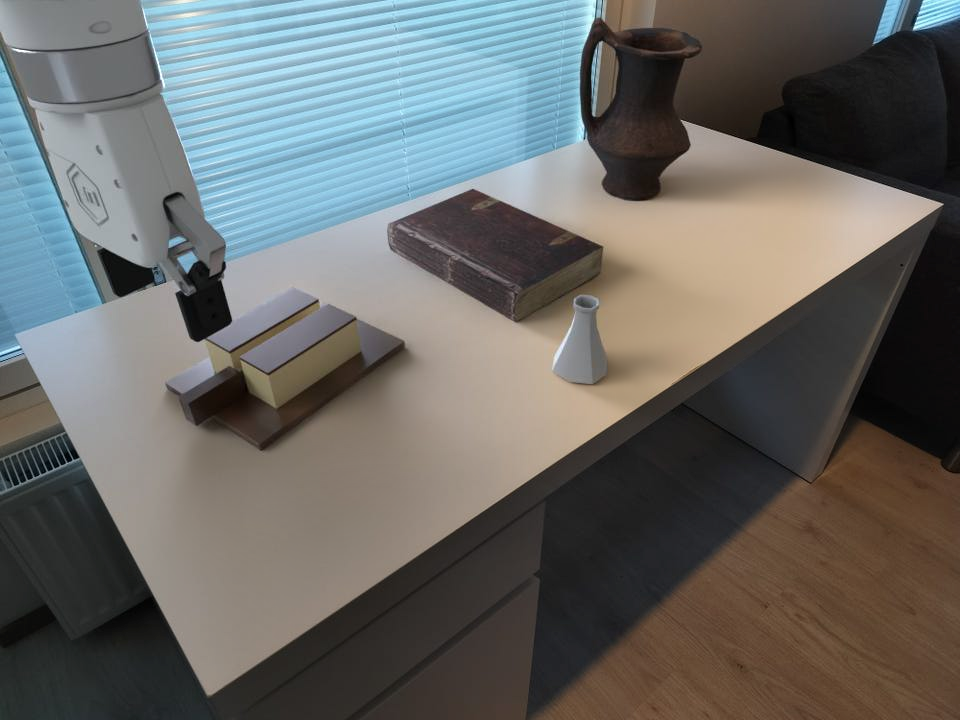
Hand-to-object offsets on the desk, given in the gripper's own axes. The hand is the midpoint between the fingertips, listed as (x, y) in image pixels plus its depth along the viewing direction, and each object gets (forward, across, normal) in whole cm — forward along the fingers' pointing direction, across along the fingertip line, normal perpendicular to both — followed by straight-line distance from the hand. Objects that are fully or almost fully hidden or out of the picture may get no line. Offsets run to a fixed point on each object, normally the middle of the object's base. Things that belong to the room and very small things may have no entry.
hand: (172, 309), depth 51 cm
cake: (+26, -17, +20) cm, 37 cm away
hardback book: (+26, -12, +57) cm, 64 cm away
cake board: (+26, -17, +20) cm, 37 cm away
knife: (+25, -17, +13) cm, 33 cm away
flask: (+26, +13, +42) cm, 51 cm away
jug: (+26, -8, +95) cm, 99 cm away
